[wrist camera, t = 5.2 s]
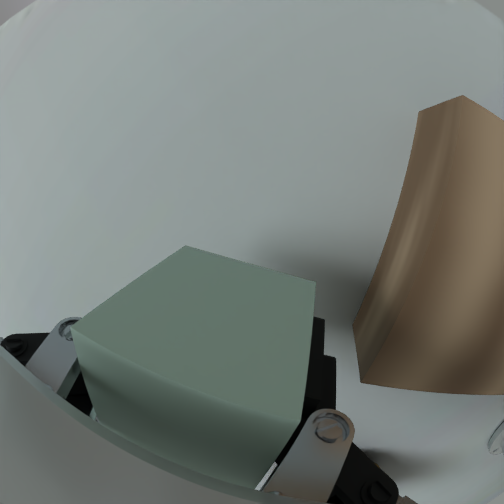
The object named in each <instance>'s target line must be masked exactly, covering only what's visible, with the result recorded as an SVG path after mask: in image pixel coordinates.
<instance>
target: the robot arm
mask: <svg viewBox="0 0 504 504" xmlns="http://www.w3.org/2000/svg"><path fill="white" fill-rule="evenodd" d="M80 319H81V318H80V317H69V318H65V319H63V320H61V321H60V322H59V323H58V324H57V325H56V326H55V327H54V329H53V330H52V331H51V332H50V333H28V334H12V335H10V336H7V337H6V338H5V339H3V337H0V504H418V503H416V502H415V501H413V500H412V499H410V498H409V497H407V496H404V497H401V496H400V495H399V491H398V488H397V485H396V483H395V482H394V481H393V480H392V479H391V478H390V477H389V476H388V475H387V474H386V473H385V472H383V471H382V470H381V469H380V468H379V467H378V466H377V465H376V464H375V463H374V462H373V461H372V460H371V459H370V458H368V457H367V456H366V455H365V454H364V453H363V452H362V451H361V450H360V449H359V448H358V447H357V446H356V445H355V444H354V443H353V442H352V440H353V438H354V432H355V430H354V425H353V423H352V422H351V420H350V419H349V418H348V417H347V416H346V415H345V414H343V413H341V412H340V411H337V410H336V358H335V357H331V356H327V355H324V332H325V320H324V319H321V318H317V317H313V326H312V336H311V346H310V355H309V364H308V372H307V380H306V388H305V395H304V402H303V409H302V415H301V421H300V423H299V424H298V426H297V428H296V429H295V431H294V433H293V434H292V436H291V437H290V439H289V440H288V442H287V444H286V445H285V447H284V448H283V450H282V451H281V453H280V454H279V456H278V457H277V459H276V460H275V462H276V463H277V466H276V467H275V469H274V470H273V472H272V473H271V475H270V476H269V478H268V479H267V480H266V482H265V483H264V485H263V486H262V488H261V489H260V490H259V491H258V490H254V489H250V488H246V487H243V486H239V485H236V484H232V483H229V482H225V481H222V480H219V479H216V478H213V477H210V476H207V475H204V474H202V473H199V472H196V471H194V470H191V469H188V468H186V467H183V466H181V465H179V464H176V463H174V462H171V461H169V460H167V459H165V458H162V457H160V456H158V455H156V454H154V453H152V452H150V451H148V450H146V449H144V448H142V447H140V446H138V445H136V444H134V443H132V442H130V441H128V440H126V439H125V438H123V437H121V436H119V435H118V434H116V433H114V432H112V431H111V430H109V429H107V428H106V427H104V426H102V425H101V424H99V423H98V422H96V421H95V418H96V413H95V410H94V408H93V405H92V402H91V399H90V396H89V394H88V391H87V388H86V385H85V381H84V378H83V375H82V372H81V368H80V365H79V361H78V358H77V354H76V350H75V346H74V342H73V338H72V333H71V329H70V327H71V326H72V325H74V324H75V323H76V322H77V321H79V320H80ZM488 449H489V452H490V454H493V455H497V454H501V453H503V455H504V422H503V423H502V424H501V425H500V427H499V428H498V429H497V430H496V431H495V433H494V434H493V436H492V437H491V439H490V441H489V444H488Z"/></svg>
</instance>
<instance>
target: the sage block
mask: <svg viewBox="0 0 504 504" xmlns="http://www.w3.org/2000/svg"><path fill="white" fill-rule="evenodd" d="M315 288H316V282H314V281H310V280H307V279H303V278H299V277H296V276H292V275H289V274H285V273H281V272H278V271H274V270H270V269H267V268H263V267H260V266H256V265H253V264H249V263H245V262H242V261H238V260H235V259H231V258H228V257H224V256H221V255H217V254H214V253H210V252H207V251H203V250H200V249H196V248H193V247H189V246H186V245H185V246H184V247H182V248H181V249H179V250H178V251H176V252H175V253H173V254H172V255H171V256H169V257H168V258H166V259H165V260H163V261H162V262H160V263H159V264H157V265H156V266H154V267H153V268H151V269H150V270H148V271H147V272H146V273H144V274H143V275H141V276H140V277H138V278H137V279H136V280H134V281H133V282H131V283H130V284H128V285H127V286H126V287H124V288H123V289H121V290H120V291H119V292H117V293H116V294H114V295H113V296H112V297H110V298H109V299H107V300H106V301H105V302H103V303H102V304H100V305H99V306H98V307H96V308H95V309H94V310H92V311H91V312H90V313H88V314H87V315H86V316H84V317H83V318H81V319H80V320H79V321H77V322H76V323H75V324H74V325H72V326H71V327H70V329H71V333H72V338H73V342H74V346H75V350H76V354H77V358H78V361H79V365H80V368H81V372H82V375H83V378H84V381H85V385H86V388H87V391H88V394H89V396H90V399H91V402H92V405H93V408H94V410H95V413H96V415H97V418H98V420H99V423H100V424H101V425H102V426H104V427H106V428H107V429H109V430H111V431H112V432H114V433H116V434H118V435H119V436H121V437H123V438H125V439H126V440H128V441H130V442H132V443H134V444H136V445H138V446H140V447H142V448H144V449H146V450H148V451H150V452H152V453H154V454H156V455H158V456H160V457H162V458H165V459H167V460H169V461H171V462H174V463H176V464H179V465H181V466H183V467H186V468H188V469H191V470H194V471H196V472H199V473H202V474H204V475H207V476H210V477H213V478H216V479H219V480H222V481H225V482H229V483H232V484H236V485H239V486H243V487H246V488H250V489H255V488H256V486H257V485H258V484H259V482H260V481H261V480H262V478H263V477H264V476H265V474H266V473H267V471H268V470H269V469H270V467H271V466H272V464H273V463H274V461H275V460H276V459H277V457H278V456H279V454H280V453H281V451H282V450H283V448H284V447H285V445H286V444H287V442H288V440H289V439H290V437H291V436H292V434H293V433H294V431H295V429H296V428H297V426H298V424H299V423H300V421H301V415H302V409H303V402H304V395H305V388H306V380H307V372H308V364H309V355H310V346H311V336H312V326H313V314H314V302H315Z"/></svg>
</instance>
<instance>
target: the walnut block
mask: <svg viewBox="0 0 504 504" xmlns="http://www.w3.org/2000/svg"><path fill="white" fill-rule="evenodd" d="M352 326H353V332H354V338H355V344H356V351H357V358H358V366H359V373H360V382H361V383H366V384H372V385H378V386H385V387H392V388H399V389H407V390H416V391H426V392H437V393H451V394H471V395H504V121H503V120H502V119H500V118H499V117H497V116H496V115H494V114H493V113H491V112H490V111H488V110H487V109H485V108H484V107H482V106H480V105H479V104H477V103H475V102H474V101H472V100H470V99H469V98H467V97H465V96H463V95H462V96H459V97H456V98H453V99H451V100H448V101H445V102H443V103H440V104H437V105H435V106H432V107H430V108H427V109H424V110H422V111H419V113H418V119H417V125H416V130H415V135H414V140H413V145H412V150H411V154H410V159H409V163H408V167H407V171H406V175H405V179H404V183H403V187H402V191H401V194H400V198H399V201H398V205H397V208H396V211H395V215H394V218H393V221H392V224H391V227H390V231H389V234H388V237H387V240H386V242H385V245H384V248H383V251H382V254H381V257H380V259H379V262H378V265H377V267H376V270H375V273H374V275H373V278H372V280H371V283H370V285H369V288H368V290H367V293H366V295H365V298H364V300H363V302H362V305H361V307H360V309H359V312H358V314H357V316H356V318H355V320H354V323H353V325H352Z"/></svg>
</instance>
